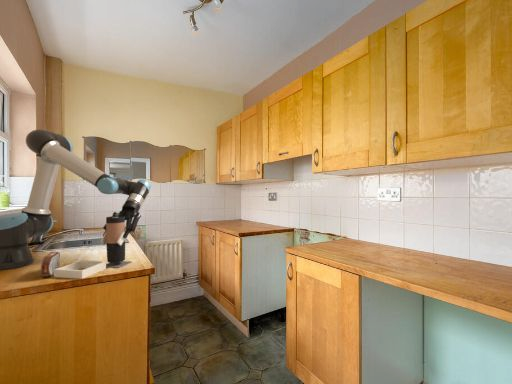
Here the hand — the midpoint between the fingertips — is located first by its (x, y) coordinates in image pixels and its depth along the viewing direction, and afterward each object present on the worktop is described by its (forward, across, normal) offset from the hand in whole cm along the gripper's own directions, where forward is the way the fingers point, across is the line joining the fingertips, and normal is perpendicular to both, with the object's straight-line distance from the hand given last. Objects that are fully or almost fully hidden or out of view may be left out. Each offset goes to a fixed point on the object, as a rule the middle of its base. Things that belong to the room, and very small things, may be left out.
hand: (110, 243), depth 114 cm
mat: (+5, 0, -10) cm, 11 cm away
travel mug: (+4, 0, -9) cm, 9 cm away
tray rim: (+14, +7, -1) cm, 15 cm away
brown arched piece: (+16, +18, 0) cm, 24 cm away
